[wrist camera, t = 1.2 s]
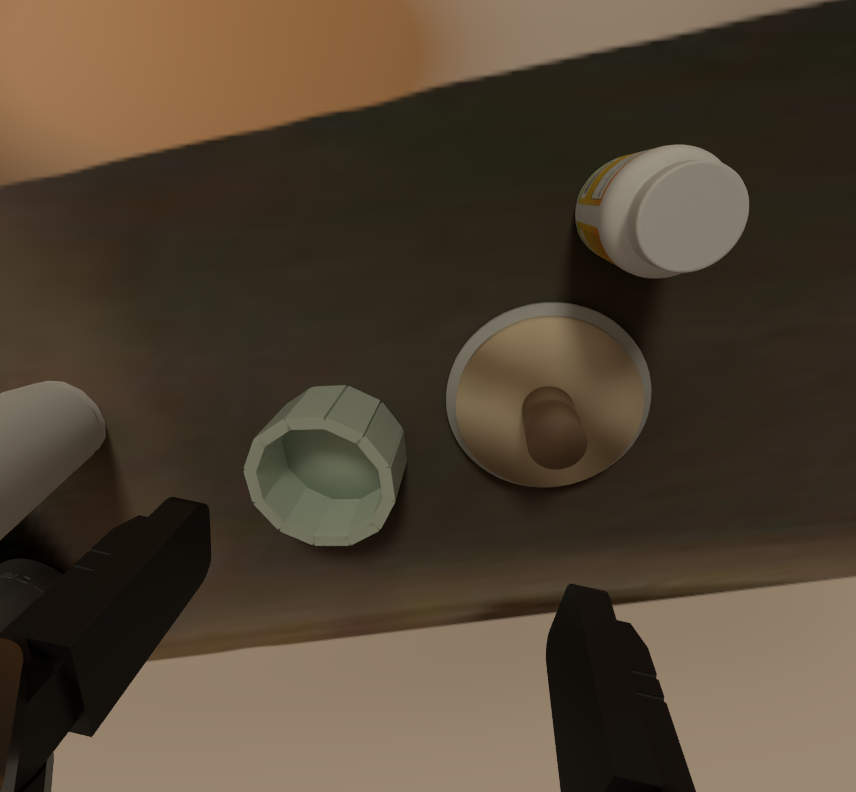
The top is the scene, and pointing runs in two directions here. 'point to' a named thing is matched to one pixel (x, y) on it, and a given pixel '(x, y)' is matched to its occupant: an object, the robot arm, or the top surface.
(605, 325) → the mat
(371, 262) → the top surface
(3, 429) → the foam cup
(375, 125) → the top surface
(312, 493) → the bowl
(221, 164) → the top surface
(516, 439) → the lid
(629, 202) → the supplement bottle
